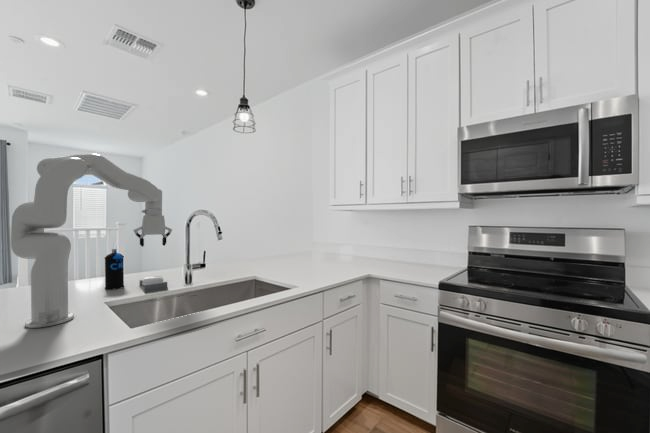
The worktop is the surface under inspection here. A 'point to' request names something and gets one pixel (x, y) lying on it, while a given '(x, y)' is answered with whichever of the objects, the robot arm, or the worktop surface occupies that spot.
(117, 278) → the aerosol can
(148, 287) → the pin tray
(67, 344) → the worktop surface
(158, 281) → the white rectangular block
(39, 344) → the worktop surface
